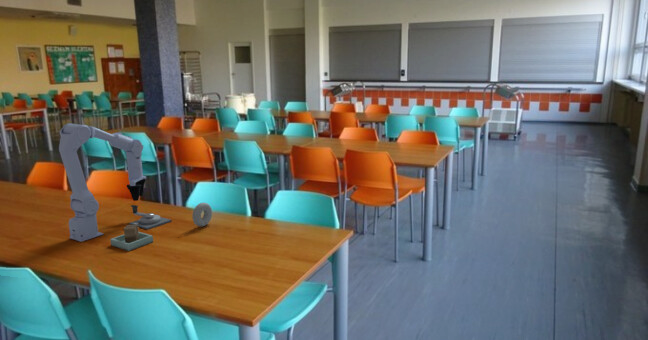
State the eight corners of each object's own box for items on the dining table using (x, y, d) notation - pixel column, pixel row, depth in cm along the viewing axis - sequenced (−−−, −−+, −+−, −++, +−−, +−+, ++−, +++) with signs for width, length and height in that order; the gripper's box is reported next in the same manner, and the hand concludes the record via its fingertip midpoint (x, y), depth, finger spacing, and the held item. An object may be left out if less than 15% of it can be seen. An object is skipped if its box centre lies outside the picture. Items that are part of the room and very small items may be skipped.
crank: (155, 216, 204) (154, 206, 203) (150, 218, 201) (149, 208, 200) (135, 213, 208) (134, 203, 208) (129, 215, 206) (128, 205, 205)
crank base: (147, 229, 196) (147, 224, 195) (129, 224, 202) (128, 219, 202) (171, 221, 206) (171, 216, 205) (153, 216, 212) (152, 211, 211)
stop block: (136, 243, 179) (135, 228, 178) (125, 244, 179) (123, 228, 178) (139, 239, 183) (137, 224, 182) (128, 240, 183) (126, 225, 181)
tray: (128, 251, 174) (128, 244, 173) (111, 245, 179) (110, 239, 179) (153, 241, 182) (152, 235, 182) (135, 236, 188) (135, 230, 187)
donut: (197, 230, 194) (196, 206, 192) (191, 229, 196) (189, 205, 194) (214, 223, 203) (213, 200, 201) (208, 221, 205) (206, 199, 202)
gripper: (141, 170, 198) (144, 202, 201) (148, 163, 212) (151, 193, 215) (123, 171, 197) (126, 203, 200) (131, 163, 211) (134, 193, 214)
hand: (138, 198), depth 207 cm, fingers open, 7 cm apart
